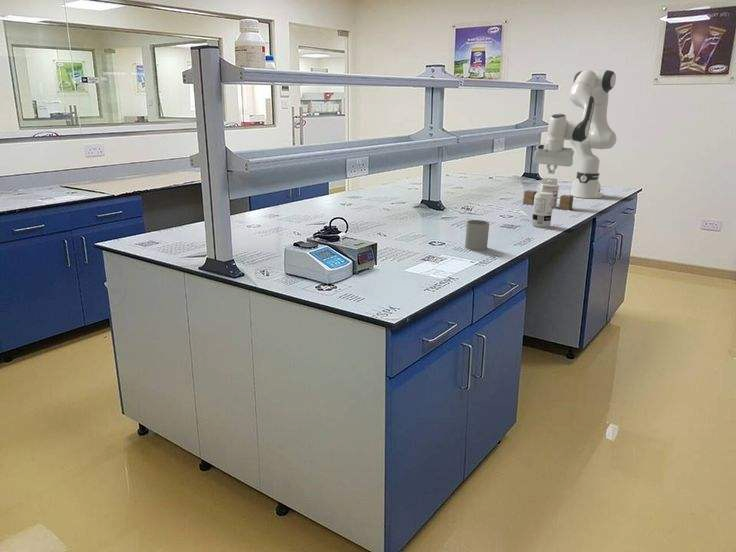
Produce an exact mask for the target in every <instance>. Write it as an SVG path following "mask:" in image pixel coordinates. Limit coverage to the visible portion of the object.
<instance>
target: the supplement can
mask: <svg viewBox="0 0 736 552" xmlns="http://www.w3.org/2000/svg"><path fill="white" fill-rule="evenodd" d="M553 200H554V196H553V193H550V192H540V191H537V193H536V194H535V197H534V205H532V207H533V208H532V214H531V216H532V217H531V225H532V226H533V227H535V228H542V227H543V228H544V229H545V228H549V227H550V226H551V222H552V215H553V208H554V207H553Z"/></svg>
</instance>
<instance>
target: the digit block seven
mask: <svg viewBox="0 0 736 552" xmlns="http://www.w3.org/2000/svg"><path fill="white" fill-rule="evenodd" d="M537 192H538V191H537V190H530V189H527V190H525V191H524V193H523V203H522V204H523V205H527V206H534V197H535V194H536V193H537Z"/></svg>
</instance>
